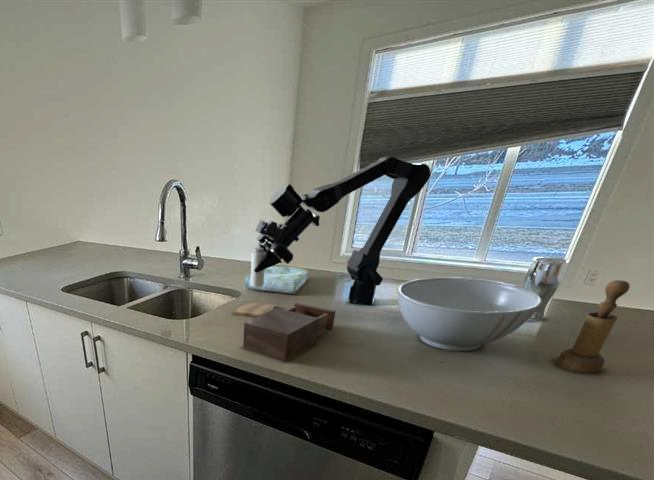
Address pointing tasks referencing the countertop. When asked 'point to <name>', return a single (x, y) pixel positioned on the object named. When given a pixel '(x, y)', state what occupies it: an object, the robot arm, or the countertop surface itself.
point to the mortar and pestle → (594, 334)
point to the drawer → (316, 315)
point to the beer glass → (544, 280)
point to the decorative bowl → (464, 310)
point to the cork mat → (254, 309)
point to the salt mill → (256, 257)
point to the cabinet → (280, 333)
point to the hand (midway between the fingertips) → (253, 269)
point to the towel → (281, 279)
